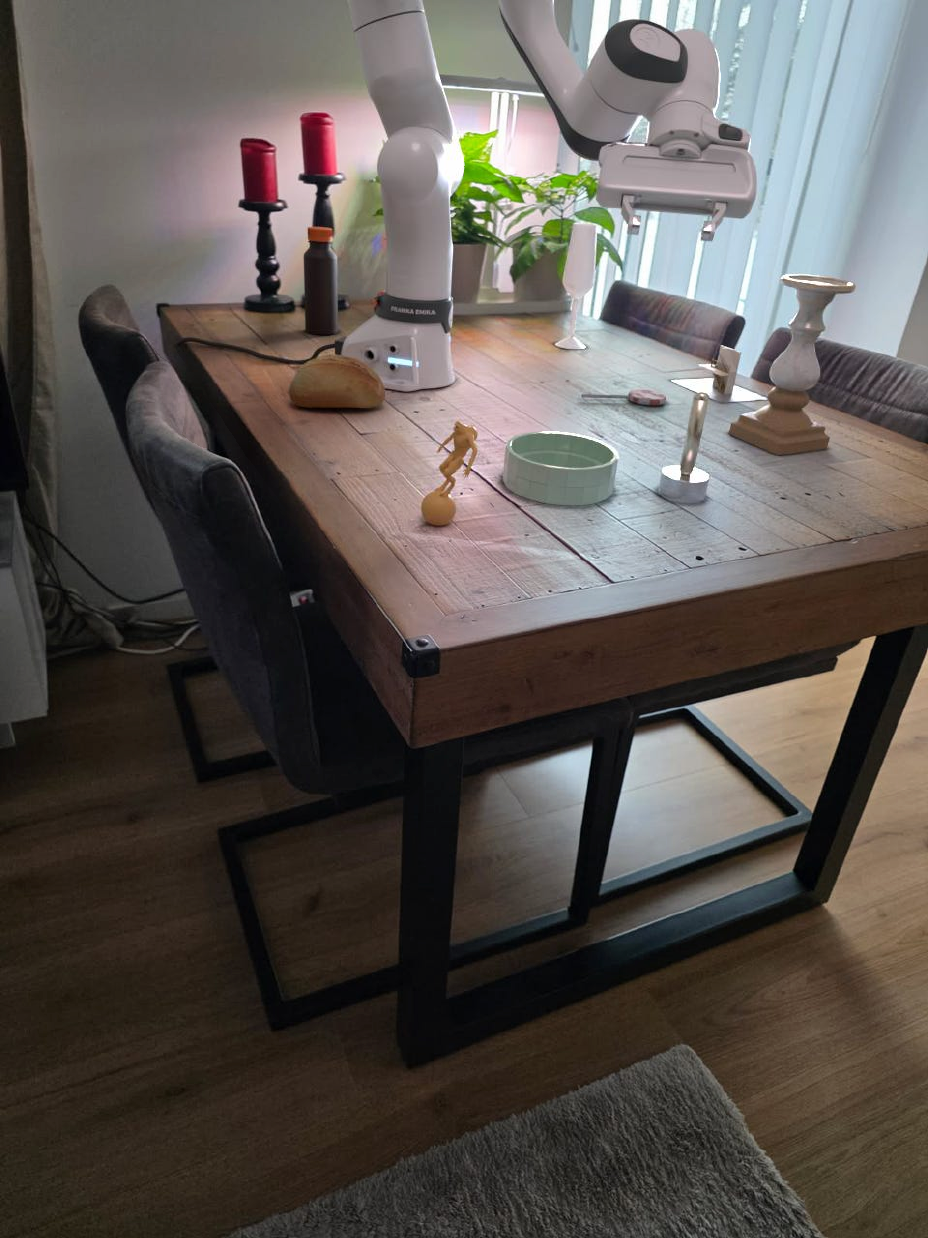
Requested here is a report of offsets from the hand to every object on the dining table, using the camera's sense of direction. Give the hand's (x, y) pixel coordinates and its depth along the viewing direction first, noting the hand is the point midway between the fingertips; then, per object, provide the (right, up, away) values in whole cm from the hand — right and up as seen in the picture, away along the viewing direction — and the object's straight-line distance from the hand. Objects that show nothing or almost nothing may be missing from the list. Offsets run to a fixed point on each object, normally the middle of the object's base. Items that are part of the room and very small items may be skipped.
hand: (670, 234), depth 109 cm
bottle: (-56, +11, +71) cm, 91 cm away
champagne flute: (-3, +10, +75) cm, 76 cm away
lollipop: (+1, -11, +39) cm, 41 cm away
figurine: (-28, -38, -11) cm, 49 cm away
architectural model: (+21, -6, +51) cm, 55 cm away
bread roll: (-46, -16, +25) cm, 55 cm away
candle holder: (+23, -21, +25) cm, 40 cm away
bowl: (-14, -32, +2) cm, 35 cm away
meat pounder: (+2, -33, +2) cm, 33 cm away
